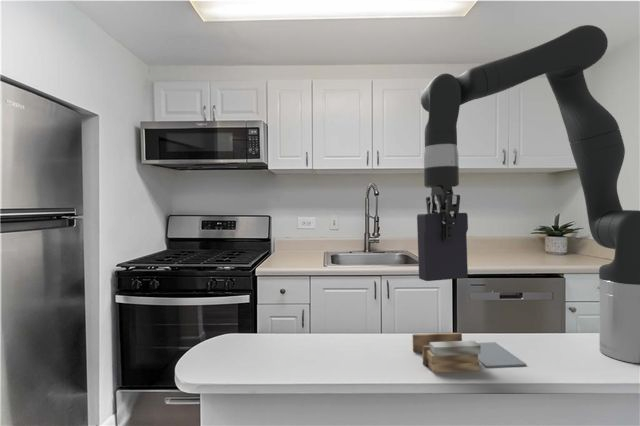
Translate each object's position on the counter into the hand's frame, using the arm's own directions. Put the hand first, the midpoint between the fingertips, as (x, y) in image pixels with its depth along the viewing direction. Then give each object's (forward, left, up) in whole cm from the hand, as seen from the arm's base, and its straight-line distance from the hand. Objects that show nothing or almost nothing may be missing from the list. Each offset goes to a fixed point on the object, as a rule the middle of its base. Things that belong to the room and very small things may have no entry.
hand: (442, 239), depth 78 cm
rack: (0, 0, -27) cm, 27 cm away
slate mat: (-11, 0, -27) cm, 29 cm away
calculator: (0, 0, -9) cm, 9 cm away
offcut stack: (0, +6, -27) cm, 28 cm away
